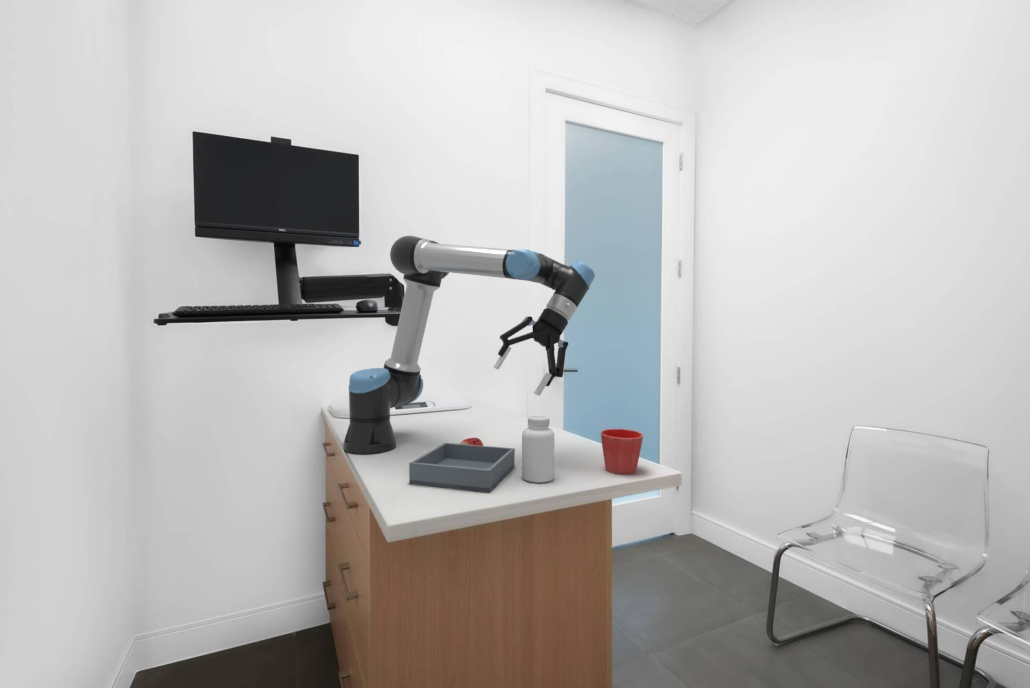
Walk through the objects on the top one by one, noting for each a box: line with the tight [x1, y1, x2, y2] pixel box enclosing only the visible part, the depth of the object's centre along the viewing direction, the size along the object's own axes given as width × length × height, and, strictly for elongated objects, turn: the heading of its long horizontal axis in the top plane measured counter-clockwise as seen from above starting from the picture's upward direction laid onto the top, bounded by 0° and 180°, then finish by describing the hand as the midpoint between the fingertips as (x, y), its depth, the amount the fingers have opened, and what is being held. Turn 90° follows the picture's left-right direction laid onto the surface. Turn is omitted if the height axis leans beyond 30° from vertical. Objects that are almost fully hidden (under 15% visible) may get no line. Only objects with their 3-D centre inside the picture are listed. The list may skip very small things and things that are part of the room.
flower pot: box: [600, 428, 644, 475], centre depth 129 cm, size 11×11×10 cm
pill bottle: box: [521, 415, 555, 484], centre depth 121 cm, size 8×8×15 cm
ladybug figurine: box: [459, 437, 484, 446], centre depth 147 cm, size 7×10×4 cm
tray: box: [408, 442, 516, 494], centre depth 124 cm, size 20×20×5 cm
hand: (516, 381), depth 132 cm, fingers open, 13 cm apart
